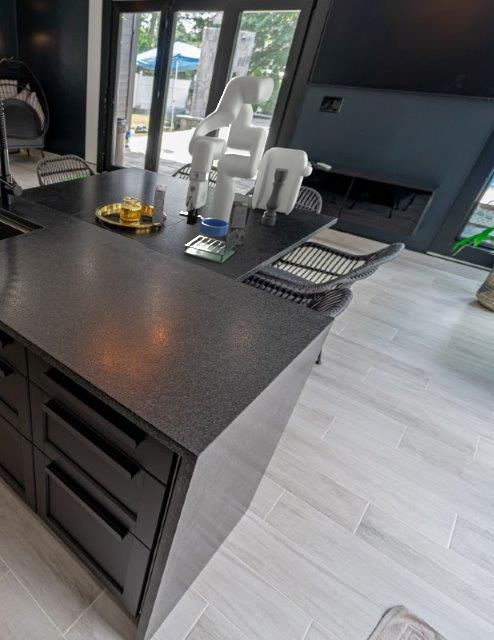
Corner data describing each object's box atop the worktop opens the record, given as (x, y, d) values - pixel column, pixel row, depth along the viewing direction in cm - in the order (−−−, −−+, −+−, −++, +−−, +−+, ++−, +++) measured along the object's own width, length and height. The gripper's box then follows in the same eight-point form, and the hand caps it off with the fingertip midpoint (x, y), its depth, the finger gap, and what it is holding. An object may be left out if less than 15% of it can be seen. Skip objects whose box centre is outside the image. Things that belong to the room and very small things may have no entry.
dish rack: (198, 243, 173) (202, 219, 167) (234, 252, 166) (239, 227, 160) (183, 253, 164) (187, 228, 158) (221, 263, 156) (227, 237, 150)
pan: (184, 220, 170) (186, 209, 167) (230, 231, 160) (233, 219, 158) (173, 226, 163) (174, 215, 160) (220, 238, 153) (223, 226, 150)
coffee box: (242, 245, 173) (251, 207, 163) (226, 243, 173) (235, 206, 164) (239, 237, 180) (248, 201, 171) (224, 236, 181) (232, 200, 172)
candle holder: (274, 222, 199) (289, 169, 184) (273, 226, 194) (289, 171, 180) (261, 220, 201) (275, 167, 186) (260, 224, 196) (274, 170, 182)
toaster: (300, 211, 215) (319, 150, 198) (296, 217, 207) (315, 154, 190) (248, 202, 226) (262, 144, 209) (243, 207, 219) (257, 147, 201)
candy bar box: (153, 218, 199) (156, 184, 190) (163, 219, 199) (167, 184, 189) (150, 225, 190) (154, 190, 181) (161, 226, 190) (165, 190, 180)
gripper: (200, 181, 146) (191, 230, 156) (216, 174, 156) (207, 221, 167) (181, 177, 149) (174, 226, 159) (198, 171, 160) (191, 217, 170)
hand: (191, 223), depth 163 cm, fingers closed on pan
